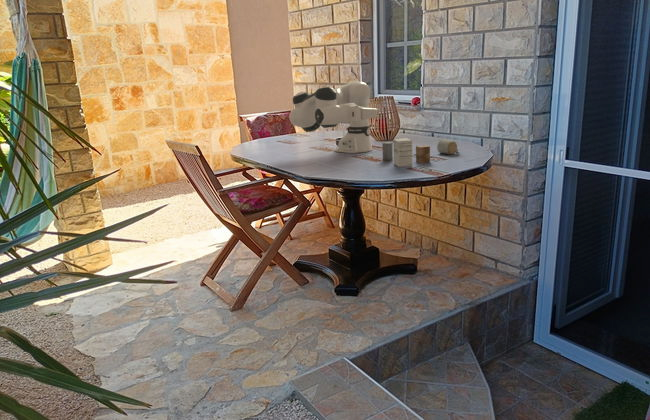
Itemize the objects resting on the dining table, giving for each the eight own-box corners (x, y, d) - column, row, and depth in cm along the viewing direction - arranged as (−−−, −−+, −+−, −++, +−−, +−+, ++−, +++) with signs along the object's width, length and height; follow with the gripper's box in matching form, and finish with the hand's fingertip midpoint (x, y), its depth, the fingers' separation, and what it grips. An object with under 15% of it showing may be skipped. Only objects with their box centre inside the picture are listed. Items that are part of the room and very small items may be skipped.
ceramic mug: (448, 155, 261) (448, 141, 259) (436, 154, 268) (436, 139, 265) (462, 153, 267) (462, 138, 265) (450, 151, 273) (450, 137, 271)
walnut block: (421, 163, 247) (421, 147, 245) (416, 161, 252) (415, 146, 250) (430, 162, 249) (429, 146, 247) (424, 160, 253) (424, 144, 251)
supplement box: (393, 164, 250) (393, 139, 246) (408, 162, 251) (407, 137, 247) (398, 167, 243) (397, 141, 239) (412, 165, 244) (412, 139, 240)
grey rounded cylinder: (381, 160, 260) (380, 143, 257) (385, 159, 264) (385, 142, 261) (389, 161, 257) (389, 144, 254) (394, 159, 261) (393, 142, 258)
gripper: (342, 118, 241) (368, 115, 245) (359, 122, 222) (387, 118, 227) (341, 104, 239) (368, 102, 243) (358, 107, 221) (387, 104, 225)
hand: (377, 110), depth 235 cm, fingers closed
